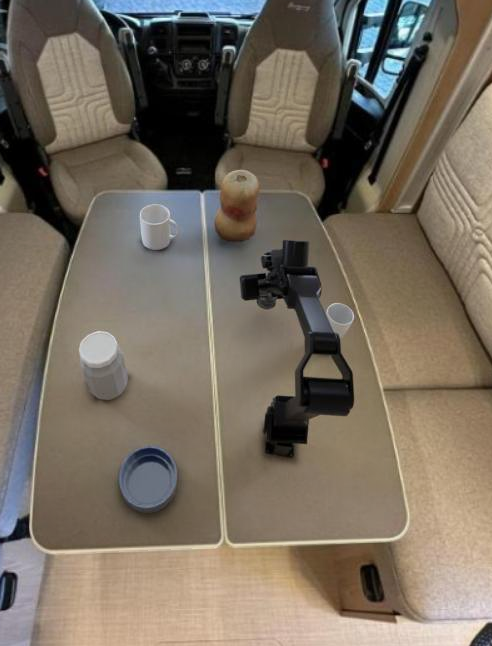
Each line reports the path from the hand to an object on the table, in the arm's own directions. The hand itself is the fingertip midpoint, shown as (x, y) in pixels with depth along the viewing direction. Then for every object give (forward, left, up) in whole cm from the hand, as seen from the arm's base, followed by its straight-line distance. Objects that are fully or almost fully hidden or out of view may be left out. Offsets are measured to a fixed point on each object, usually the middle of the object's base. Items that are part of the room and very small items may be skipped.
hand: (268, 282), depth 110 cm
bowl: (-49, +22, -13) cm, 56 cm away
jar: (-28, +37, -14) cm, 49 cm away
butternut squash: (+30, +10, -14) cm, 34 cm away
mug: (+24, +34, -14) cm, 44 cm away
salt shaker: (-2, 0, -7) cm, 7 cm away
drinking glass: (-8, -18, -14) cm, 24 cm away
